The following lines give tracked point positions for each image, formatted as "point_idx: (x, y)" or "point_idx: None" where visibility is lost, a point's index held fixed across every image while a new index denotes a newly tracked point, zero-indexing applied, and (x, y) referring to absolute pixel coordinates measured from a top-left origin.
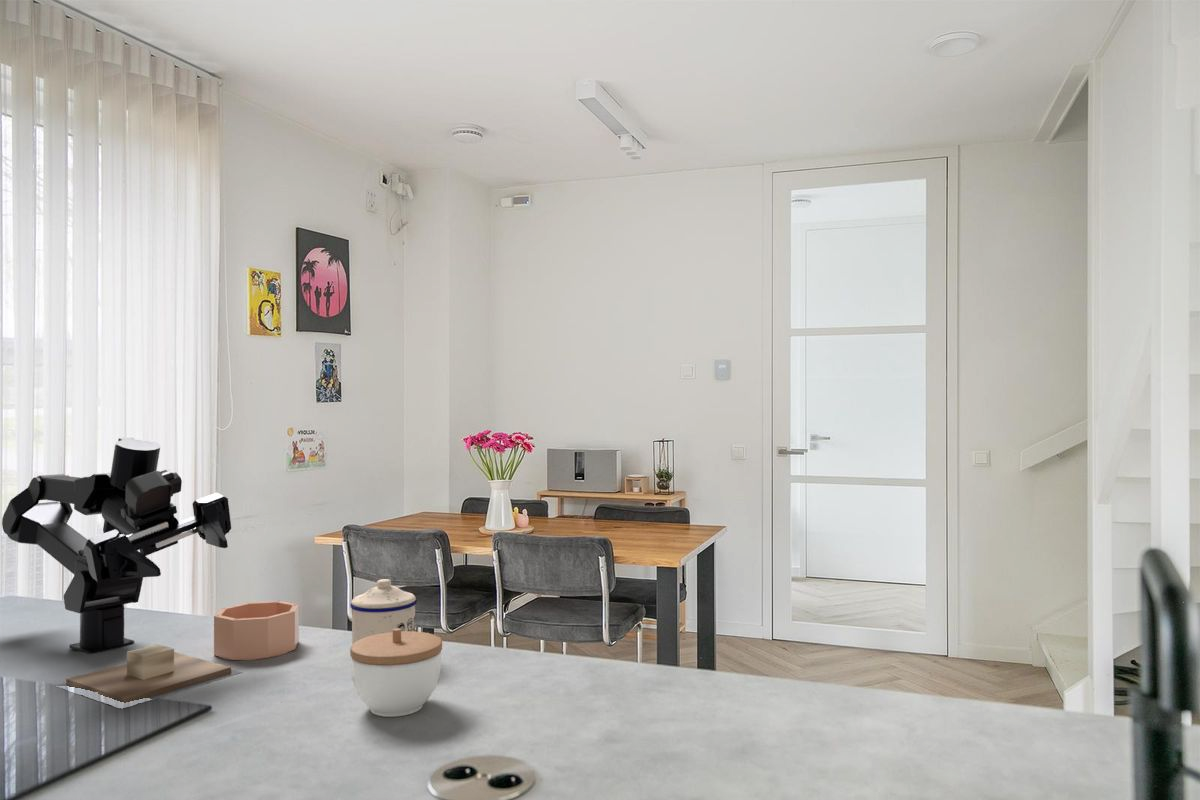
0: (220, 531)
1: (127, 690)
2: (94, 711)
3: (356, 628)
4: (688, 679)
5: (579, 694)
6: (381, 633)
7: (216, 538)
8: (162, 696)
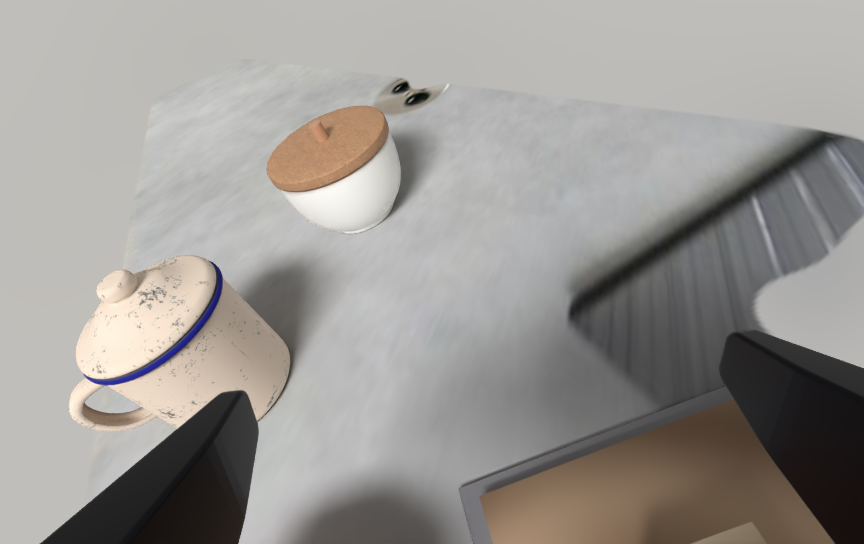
0: (131, 484)
1: None
2: None
3: (243, 326)
4: (162, 187)
5: (235, 186)
6: (303, 178)
7: (195, 537)
8: (669, 409)
